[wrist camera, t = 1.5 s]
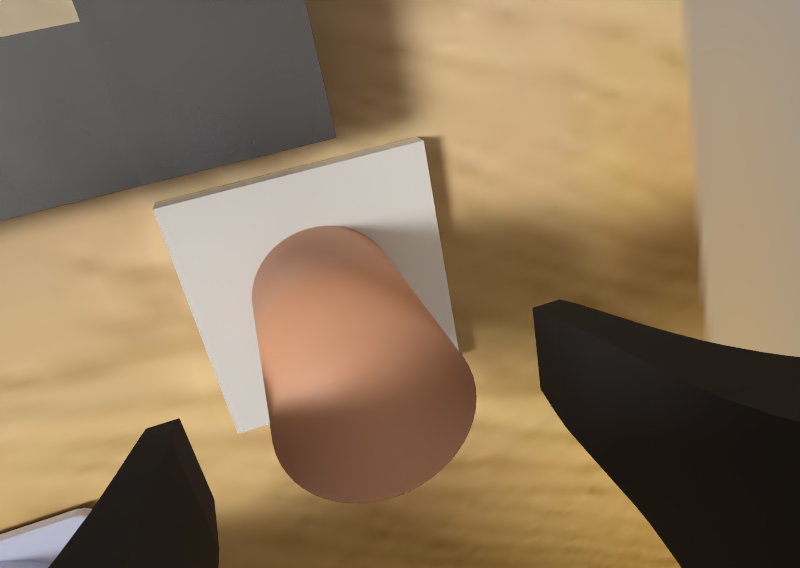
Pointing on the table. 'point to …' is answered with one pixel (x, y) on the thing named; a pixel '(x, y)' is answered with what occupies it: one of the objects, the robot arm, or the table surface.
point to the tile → (282, 217)
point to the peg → (355, 370)
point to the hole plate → (153, 95)
